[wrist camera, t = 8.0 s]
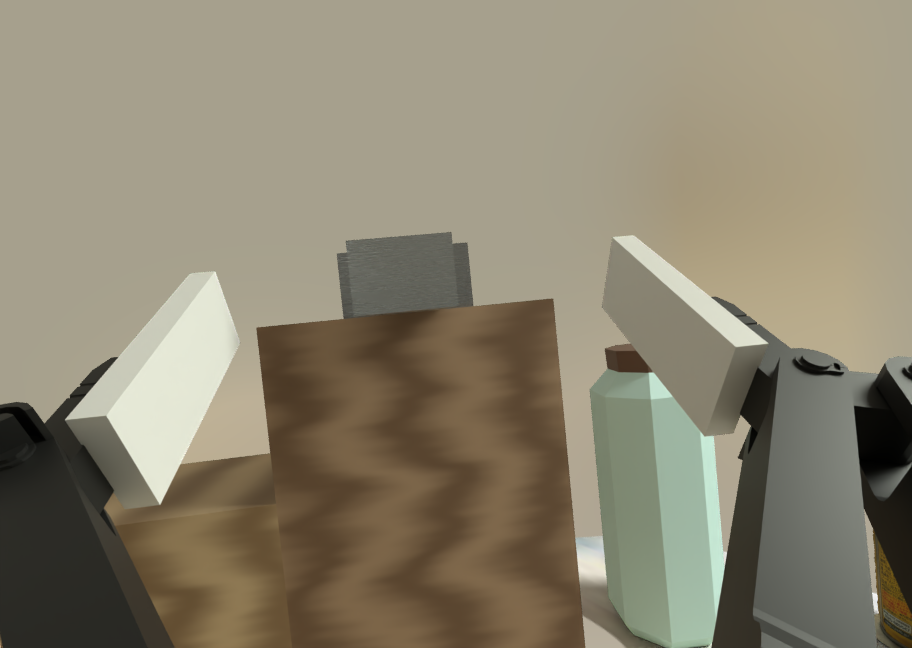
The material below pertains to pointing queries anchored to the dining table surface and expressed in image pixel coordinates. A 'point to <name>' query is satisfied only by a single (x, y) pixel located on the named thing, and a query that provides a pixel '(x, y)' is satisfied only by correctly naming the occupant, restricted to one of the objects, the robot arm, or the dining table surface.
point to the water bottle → (656, 506)
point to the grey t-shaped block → (404, 275)
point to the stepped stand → (380, 495)
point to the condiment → (890, 605)
